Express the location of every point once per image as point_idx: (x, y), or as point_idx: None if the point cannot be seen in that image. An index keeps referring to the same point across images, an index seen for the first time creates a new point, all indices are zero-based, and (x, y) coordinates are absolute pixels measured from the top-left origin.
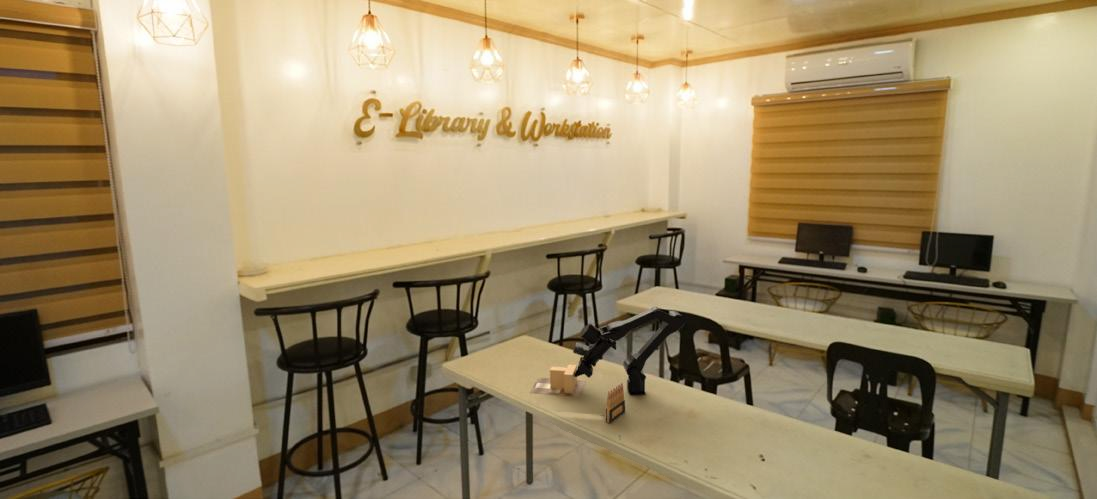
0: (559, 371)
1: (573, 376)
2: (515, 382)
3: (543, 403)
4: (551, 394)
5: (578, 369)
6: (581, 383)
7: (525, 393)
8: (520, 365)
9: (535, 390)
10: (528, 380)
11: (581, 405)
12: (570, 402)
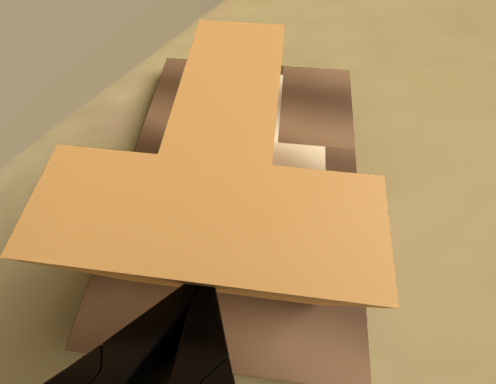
0: (179, 101)
1: (118, 275)
2: (307, 14)
3: (90, 132)
4: (136, 150)
5: (69, 377)
6: (311, 347)
7: None
8: (486, 7)
9: None
10: (337, 50)
11: (6, 357)
12: (70, 272)
